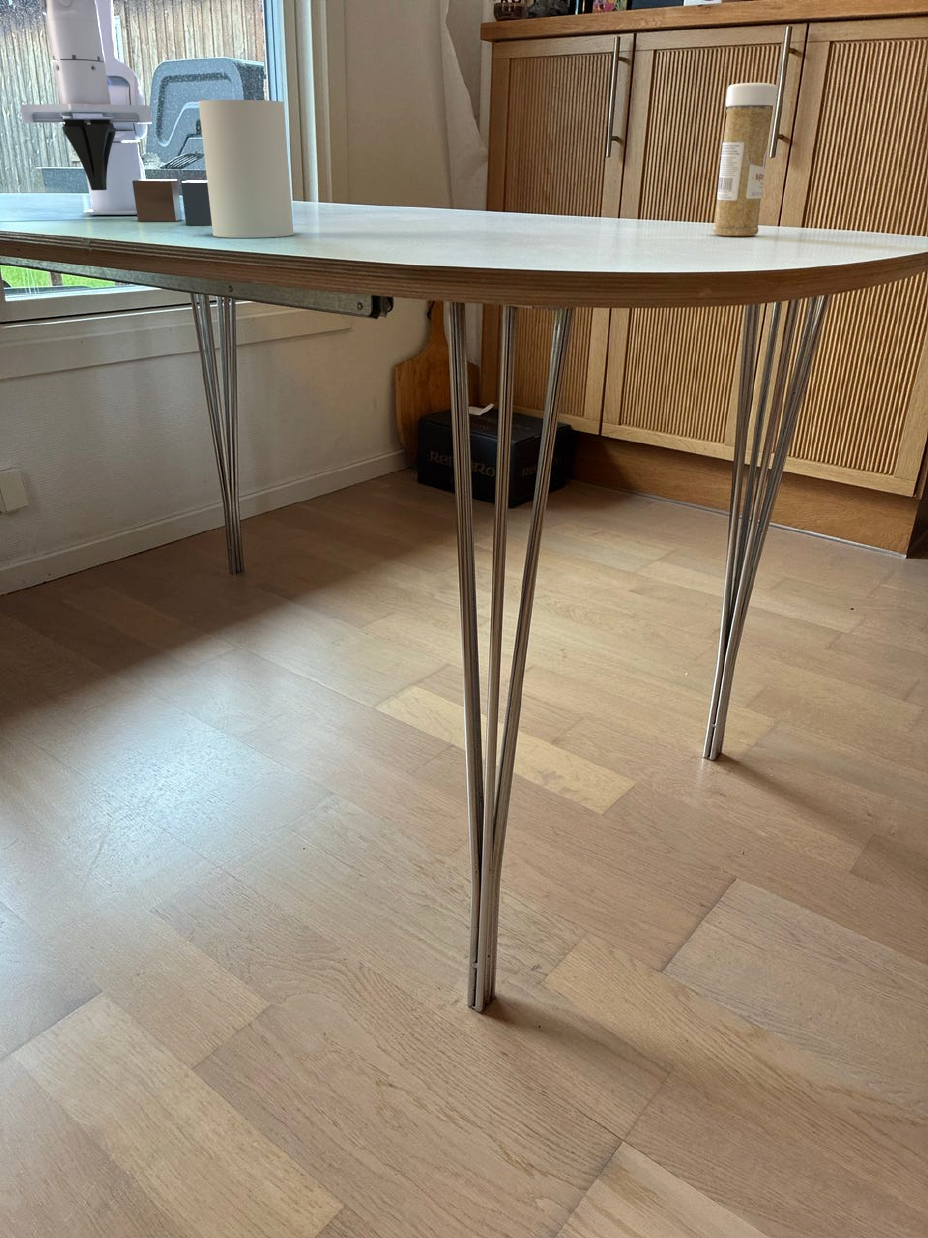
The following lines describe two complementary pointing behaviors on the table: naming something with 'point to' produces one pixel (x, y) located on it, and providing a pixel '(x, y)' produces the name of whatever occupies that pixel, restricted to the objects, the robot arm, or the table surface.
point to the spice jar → (743, 158)
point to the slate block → (196, 202)
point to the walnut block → (157, 200)
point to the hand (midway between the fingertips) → (99, 189)
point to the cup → (247, 168)
